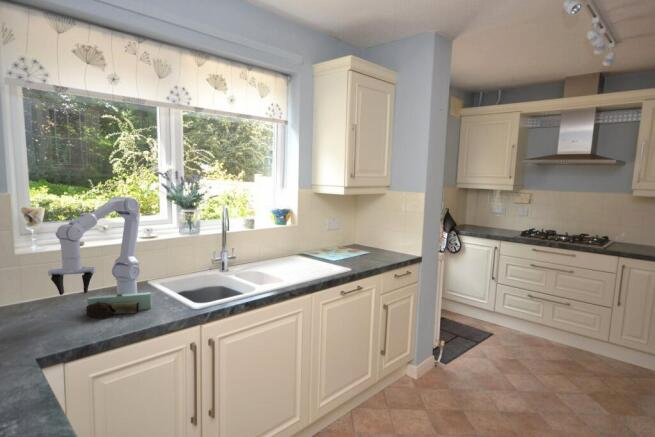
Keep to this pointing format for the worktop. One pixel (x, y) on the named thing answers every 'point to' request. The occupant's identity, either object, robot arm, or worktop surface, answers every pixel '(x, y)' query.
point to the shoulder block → (124, 299)
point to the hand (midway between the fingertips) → (73, 293)
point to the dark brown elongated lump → (111, 309)
